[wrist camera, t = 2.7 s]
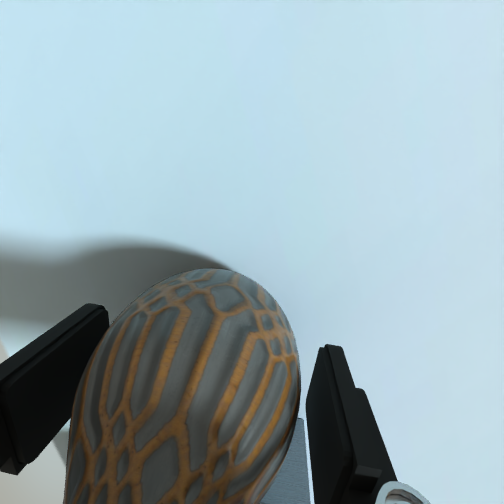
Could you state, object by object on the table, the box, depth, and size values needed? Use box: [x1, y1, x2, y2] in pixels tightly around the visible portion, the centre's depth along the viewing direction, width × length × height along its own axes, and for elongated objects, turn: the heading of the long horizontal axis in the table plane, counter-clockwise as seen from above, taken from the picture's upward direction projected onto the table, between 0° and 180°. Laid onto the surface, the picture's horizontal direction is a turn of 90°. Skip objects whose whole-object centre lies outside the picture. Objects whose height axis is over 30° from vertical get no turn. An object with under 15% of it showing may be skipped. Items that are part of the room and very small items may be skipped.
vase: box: [63, 269, 301, 504], centre depth 8 cm, size 7×7×9 cm
